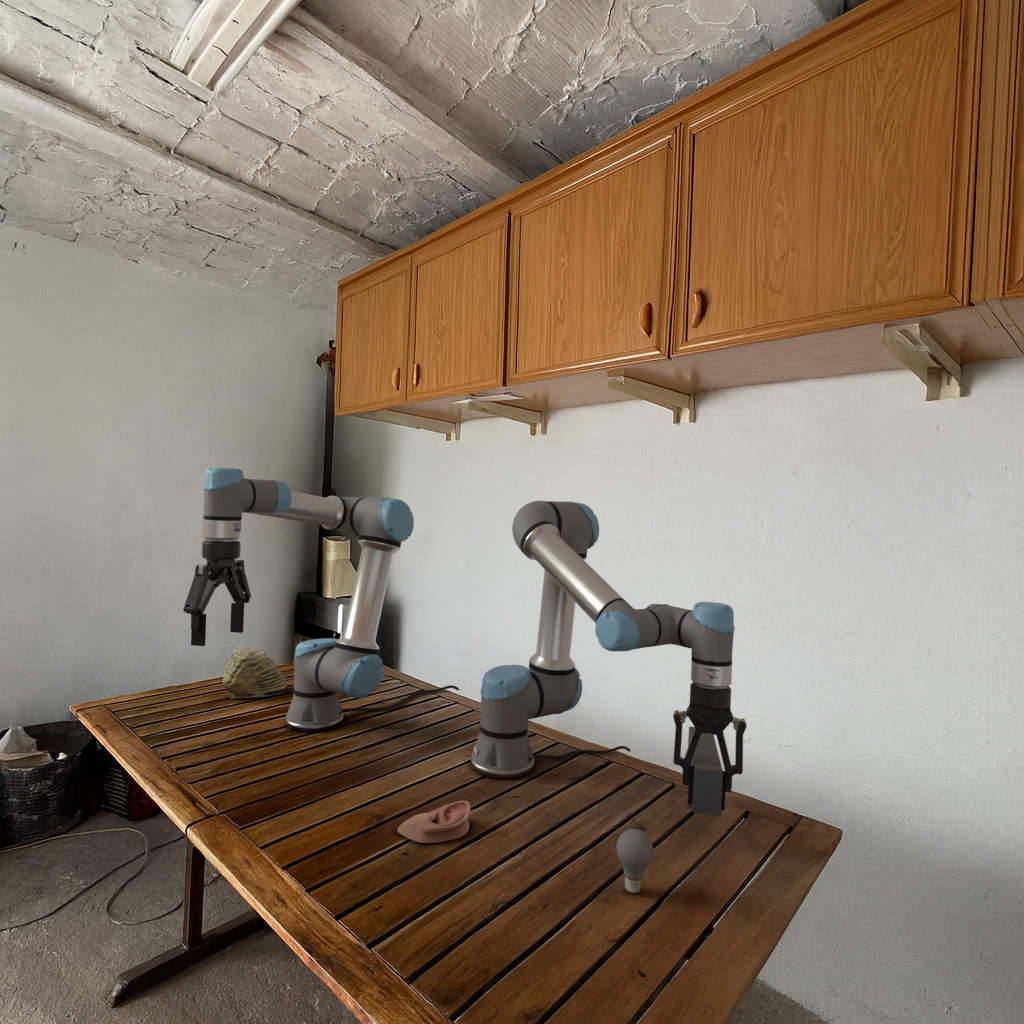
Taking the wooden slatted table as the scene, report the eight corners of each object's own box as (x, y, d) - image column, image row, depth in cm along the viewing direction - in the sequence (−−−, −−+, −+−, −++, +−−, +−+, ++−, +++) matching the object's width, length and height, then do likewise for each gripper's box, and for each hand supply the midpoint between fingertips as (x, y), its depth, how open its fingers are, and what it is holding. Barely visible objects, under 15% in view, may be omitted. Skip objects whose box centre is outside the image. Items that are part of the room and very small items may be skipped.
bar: (687, 763, 143) (688, 726, 143) (710, 766, 141) (712, 728, 141) (693, 812, 119) (694, 768, 119) (721, 816, 118) (722, 771, 118)
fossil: (218, 695, 195) (220, 647, 195) (278, 685, 208) (279, 640, 207) (228, 703, 189) (230, 653, 188) (289, 692, 201) (290, 645, 201)
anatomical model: (391, 817, 118) (413, 790, 130) (390, 838, 118) (412, 809, 130) (459, 827, 116) (476, 799, 127) (459, 849, 116) (475, 819, 127)
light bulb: (610, 879, 108) (613, 822, 108) (644, 879, 109) (647, 822, 109) (619, 902, 102) (622, 840, 102) (655, 901, 103) (658, 840, 103)
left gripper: (200, 544, 123) (196, 653, 123) (268, 537, 147) (265, 628, 148) (165, 542, 124) (162, 650, 124) (239, 536, 149) (236, 626, 149)
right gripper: (660, 683, 121) (655, 804, 121) (763, 695, 115) (758, 822, 115) (663, 674, 128) (658, 788, 128) (760, 684, 122) (755, 804, 123)
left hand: (218, 638), depth 136 cm, fingers open, 13 cm apart
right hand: (705, 804), depth 122 cm, fingers closed on bar, 5 cm apart
